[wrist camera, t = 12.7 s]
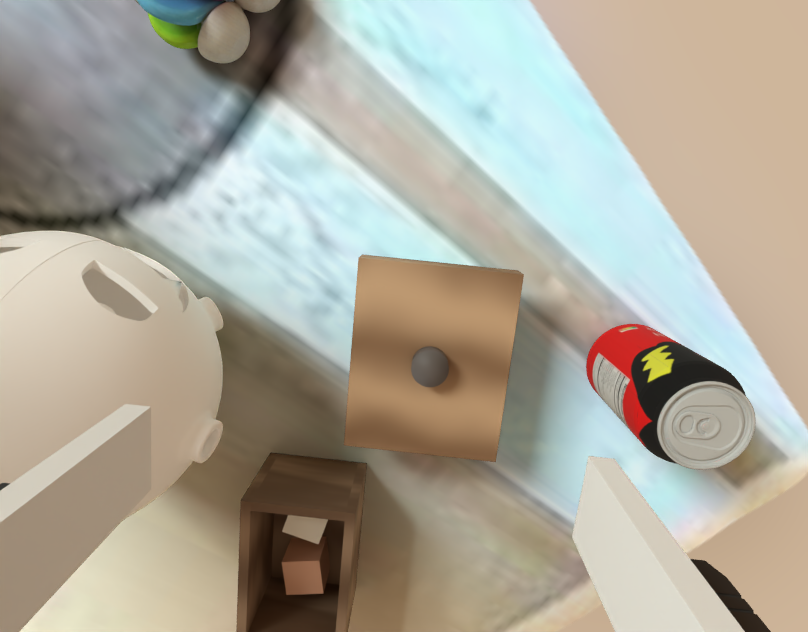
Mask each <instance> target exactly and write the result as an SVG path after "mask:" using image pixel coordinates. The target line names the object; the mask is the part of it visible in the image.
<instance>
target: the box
mask: <svg viewBox="0 0 808 632" xmlns="http://www.w3.org/2000/svg"><path fill="white" fill-rule="evenodd" d="M366 467H367V463H358V462H349V461H340V460H331V459H322V458H313V457H304V456H295V455H286V454H277V453H270V455H269V456H268V458H267V459H266V461H265V463H264V464H263V466H262V467H261V469H260V471H259V472H258V474H257V475H256V477H255V479H254V480H253V482H252V483H251V485H250V487H249V488H248V490H247V491H246V493H245V495H244V496H243V498H242V500H241V510H240V541H239V571H238V602H237V632H348V627H349V621H350V616H351V610H352V605H353V599H354V594H355V588H356V577H357V566H358V555H359V544H360V533H361V522H362V511H363V500H364V489H365V478H366ZM288 515H293V516H301V517H310V518H319V519H328V521H327V524H326V526H325V529H324V532H323V534H322V537H325V536H327V544H328V553H329V561H330V571H329V574H328V578H327V582H326V586H325V590H324V594H299V595H286V588H285V582H284V575H283V568H282V560H283V558H284V555H285V553H286V550H287V548H288V545H289V543H290V540H291V538H299V537H296V536H293V535H290V534H288V533H285V532H282V530H283V528H284V525H285V522H286V519H287V517H288Z"/></svg>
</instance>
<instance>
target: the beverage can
mask: <svg viewBox="0 0 808 632" xmlns="http://www.w3.org/2000/svg"><path fill="white" fill-rule="evenodd" d="M586 368H587V376H588V379H589V382H590V384H591V386H592V388H593V389H594V390H595V391H596V393H597V394H598V395H599V396H600V397H601V398H602V399H603V400H604V401H605V403H606V404H607V405H608V406H609V407H610V408H611V409H612V410H613V411H614V413H615V414H616V415H617V416H618V417H619V418H620V419H621V420H622V421H623V423H624V424H625V425H626V426H627V427H628V428H629V429H630V430H631V432H632V433H633V434H634V435H635V436H636V437H637V438H638V439H639V440H640V442H641V443H642V444H643V445H644V446H645V447H646V448H647V449H648V450H649V451H650V452H652V453H653V454H654V455H656V456H658V457H660V458H662V459H664V460H666V461H669V462H673V463H677V464H680V465H682V466H684V467H687V468H691V469H697V470H706V469H713V468H717V467H720V466H723V465H725V464H727V463H729V462H731V461H733V460H734V459H735V458H737V457H738V456H739V455H740V454H741V453H742V452H743V451H744V450H745V449H746V447H747V446H748V444H749V443H750V441H751V439H752V437H753V434H754V430H755V413H754V409H753V407H752V405H751V403H750V401H749V400H748V398H747V397H746V395H745V392H744V390H743V388H742V386H741V385H740V383H739V382H738V381H737V379H736V378H735V377H734V376H733V375H732V374H731V373H730V372H728V371H727V370H726V369H724V368H722V367H721V366H719V365H717V364H715V363H713V362H712V361H710V360H708V359H706V358H704V357H703V356H701V355H699V354H697V353H695V352H694V351H692V350H690V349H688V348H686V347H685V346H683V345H681V344H679V343H677V342H676V341H674V340H672V339H670V338H668V337H667V336H665V335H663V334H661V333H660V332H658V331H656V330H654V329H652V328H650V327H647V326H644V325H639V324H627V325H621V326H617V327H615V328H612V329H610V330H608V331H607V332H605V333H604V334H603V335H601V336H600V337H599V338H598V339H597V340H596V342H595V343H594V344H593V346H592V348H591V349H590V352H589V354H588V358H587V366H586Z"/></svg>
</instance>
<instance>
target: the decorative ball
mask: <svg viewBox="0 0 808 632" xmlns="http://www.w3.org/2000/svg"><path fill="white" fill-rule="evenodd" d="M222 327H223V319H222V316H221V313H220V311H219V309H218V308H217V306H216V304H215V303H214V302H213V301H212V300H211V299H210V298H208V297H203V298H201V299H197V298H196V296H195V295H194V294H193V293H192V291H191V290H190V289H189V288H188V287H187V286H186V285H185V284H184V283H183V282H182V281H181V280H180V279H179V278H178V277H177V276H176V275H175V274H174V273H173V272H171V271H170V270H169V269H167V268H166V267H165V266H163V265H162V264H160V263H158V262H157V261H155V260H153V259H151V258H149V257H147V256H144V255H142V254H140V253H137V252H134V251H133V250H130V249H127V248H123V247H120V246H116V245H113V244H111V243H108V242H106V241H103V240H101V239H98V238H95V237H92V236H88V235H84V234H79V233H74V232H66V231H31V232H21V233H15V234H8V235H3V236H0V484H1V483H12V482H13V481H15V480H16V479H18V478H19V477H21V476H22V475H24V474H25V473H26V472H28V471H29V470H31V469H32V468H34V467H35V466H37V465H38V464H39V463H41V462H42V461H44V460H45V459H47V458H48V457H50V456H51V455H52V454H54V453H55V452H57V451H58V450H60V449H61V448H63V447H64V446H65V445H67V444H68V443H70V442H71V441H73V440H74V439H76V438H77V437H78V436H80V435H81V434H83V433H84V432H86V431H87V430H89V429H90V428H91V427H93V426H94V425H96V424H97V423H99V422H100V421H102V420H103V419H104V418H106V417H107V416H109V415H110V414H112V413H113V412H115V411H116V410H117V409H119V408H120V407H122V406H123V405H125V404H131V405H140V406H149V407H151V490H150V491H149V492H148V493H147V494H146V496H145V497H144V498H143V499H142V500H141V501H140V502H139V503H138V504H137V505H136V506H135V507H134V508H133V510H132V511H131V512H130V513H129V514H128V515H127V516H126V517H128V516H130V515H132V514H134V513H135V512H137V511H139V510H140V509H142V508H143V507H145V506H146V505H148V504H149V503H151V502H152V501H154V500H155V499H156V498H157V497H159V496H160V495H161V494H163V493H164V492H165V491H166V490H167V489H168V488H169V487H170V486H171V485H173V484H174V483H175V482H176V481H177V480H178V479H179V478H180V476H181V475H182V474H183V473H184V472H185V471H186V470H187V468H188V467H189V466H190V465H191V464H192V462H193V461H195V462H197V463H203V462H205V461H206V460H207V459H208V458H209V457H210V456H211V455H212V453H213V452H214V450H215V449H216V447H217V445H218V443H219V441H220V438H221V436H222V432H223V424H222V422H221V421H218V420H216V416H217V413H218V409H219V404H220V400H221V394H222V384H223V366H222V357H221V351H220V347H219V342H218V339H217V336H216V333H215V332H216V331H218V330H220V329H222ZM126 517H125V518H126ZM125 518H124V519H125ZM124 519H123V520H124ZM123 520H122V521H123Z"/></svg>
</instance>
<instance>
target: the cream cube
mask: <svg viewBox="0 0 808 632" xmlns="http://www.w3.org/2000/svg"><path fill="white" fill-rule="evenodd" d="M327 521H328V519H319V518H310V517H301V516H293V515H288V517H287V519H286V522H285V525H284V528H283V530H282V532H285V533H288V534H290V535H293V536H296V537H299V538H302V539H304V540H307V541H310V542H313V543H316V544H319V542H320V539H321V537H322V534H323V532H324V529H325V526H326V524H327Z"/></svg>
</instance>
